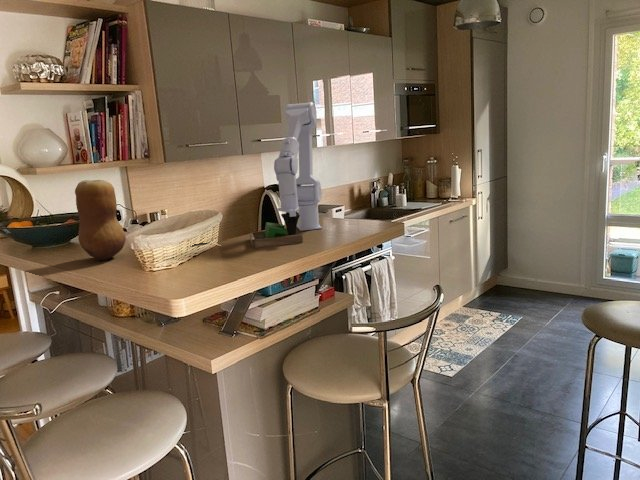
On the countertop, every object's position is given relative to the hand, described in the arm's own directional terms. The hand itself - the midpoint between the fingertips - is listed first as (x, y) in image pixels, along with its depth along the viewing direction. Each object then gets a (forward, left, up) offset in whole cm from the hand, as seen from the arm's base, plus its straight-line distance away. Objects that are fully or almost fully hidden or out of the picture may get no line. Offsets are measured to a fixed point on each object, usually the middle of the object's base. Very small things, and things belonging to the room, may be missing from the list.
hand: (292, 235), depth 171 cm
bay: (0, -5, -1) cm, 6 cm away
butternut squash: (-2, -59, -2) cm, 60 cm away
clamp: (0, -5, -2) cm, 6 cm away
